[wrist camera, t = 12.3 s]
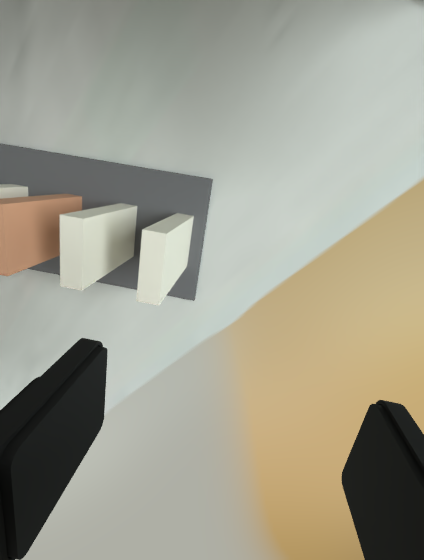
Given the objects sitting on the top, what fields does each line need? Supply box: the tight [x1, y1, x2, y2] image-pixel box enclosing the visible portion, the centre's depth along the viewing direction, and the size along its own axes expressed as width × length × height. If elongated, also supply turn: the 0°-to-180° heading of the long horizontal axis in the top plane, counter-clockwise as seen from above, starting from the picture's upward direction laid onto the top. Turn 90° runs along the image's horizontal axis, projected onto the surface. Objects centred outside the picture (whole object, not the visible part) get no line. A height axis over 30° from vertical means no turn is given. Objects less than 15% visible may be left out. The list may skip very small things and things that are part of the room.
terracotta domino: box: [0, 194, 82, 276], centre depth 25 cm, size 2×5×10 cm, turn 172°
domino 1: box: [60, 203, 137, 291], centre depth 25 cm, size 2×5×10 cm, turn 171°
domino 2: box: [136, 213, 194, 305], centre depth 25 cm, size 2×5×10 cm, turn 171°
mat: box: [0, 144, 213, 300], centre depth 30 cm, size 30×12×1 cm, turn 81°
